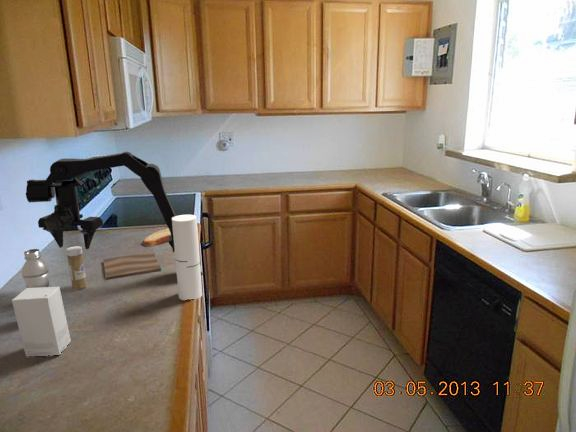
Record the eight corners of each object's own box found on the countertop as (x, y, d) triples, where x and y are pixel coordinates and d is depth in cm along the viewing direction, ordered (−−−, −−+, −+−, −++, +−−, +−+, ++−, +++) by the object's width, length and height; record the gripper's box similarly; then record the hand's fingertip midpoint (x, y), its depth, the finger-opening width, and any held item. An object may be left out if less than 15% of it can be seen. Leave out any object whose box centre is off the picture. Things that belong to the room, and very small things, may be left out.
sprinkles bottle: (84, 289, 135) (78, 250, 132) (69, 290, 135) (63, 250, 132) (89, 283, 140) (84, 245, 136) (75, 284, 140) (69, 245, 136)
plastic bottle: (29, 326, 114) (15, 257, 108) (32, 315, 120) (19, 249, 114) (56, 321, 116) (44, 253, 111) (58, 310, 122) (46, 245, 117)
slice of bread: (141, 248, 173) (140, 239, 172) (146, 234, 190) (145, 226, 189) (186, 244, 177) (185, 236, 176) (187, 231, 194) (186, 224, 193)
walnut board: (161, 270, 150) (160, 267, 150) (106, 280, 143) (105, 277, 142) (153, 254, 166) (153, 251, 165) (103, 262, 158) (103, 259, 158)
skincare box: (71, 342, 107) (62, 285, 102) (59, 357, 100) (48, 298, 96) (38, 343, 106) (26, 286, 102) (23, 358, 100) (10, 299, 96)
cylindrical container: (182, 290, 135) (175, 214, 128) (204, 290, 134) (199, 214, 127) (175, 300, 128) (168, 221, 121) (199, 300, 127) (193, 221, 121)
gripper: (20, 205, 124) (29, 255, 128) (78, 208, 121) (85, 259, 125) (47, 197, 135) (54, 243, 139) (100, 199, 132) (106, 246, 136)
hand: (74, 248), depth 135 cm, fingers open, 9 cm apart
